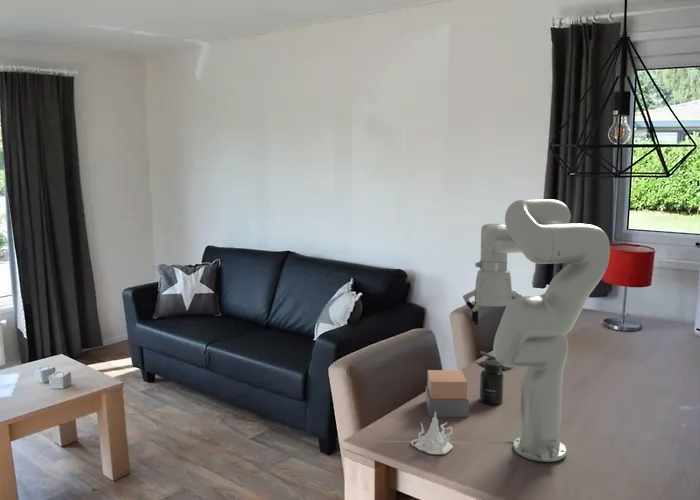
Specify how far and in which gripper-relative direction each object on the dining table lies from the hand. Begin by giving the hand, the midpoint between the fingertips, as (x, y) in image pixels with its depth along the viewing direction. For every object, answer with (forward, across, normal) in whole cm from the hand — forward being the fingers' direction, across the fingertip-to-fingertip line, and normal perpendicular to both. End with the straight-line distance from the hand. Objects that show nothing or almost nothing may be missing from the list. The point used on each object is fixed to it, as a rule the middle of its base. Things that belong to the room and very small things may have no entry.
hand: (492, 323), depth 175 cm
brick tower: (+24, -14, -7) cm, 28 cm away
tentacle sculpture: (+24, -20, -30) cm, 43 cm away
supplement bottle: (+24, 0, 0) cm, 24 cm away
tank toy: (+25, +8, +31) cm, 41 cm away
